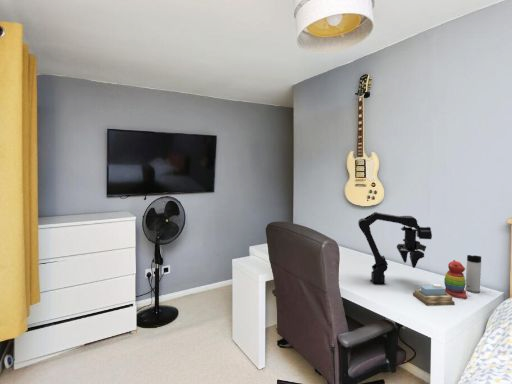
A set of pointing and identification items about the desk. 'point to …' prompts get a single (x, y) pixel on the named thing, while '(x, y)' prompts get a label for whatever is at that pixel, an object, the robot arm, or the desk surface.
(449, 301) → the jig
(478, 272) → the travel mug
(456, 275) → the stacking bear
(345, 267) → the desk surface
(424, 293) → the blue slab
